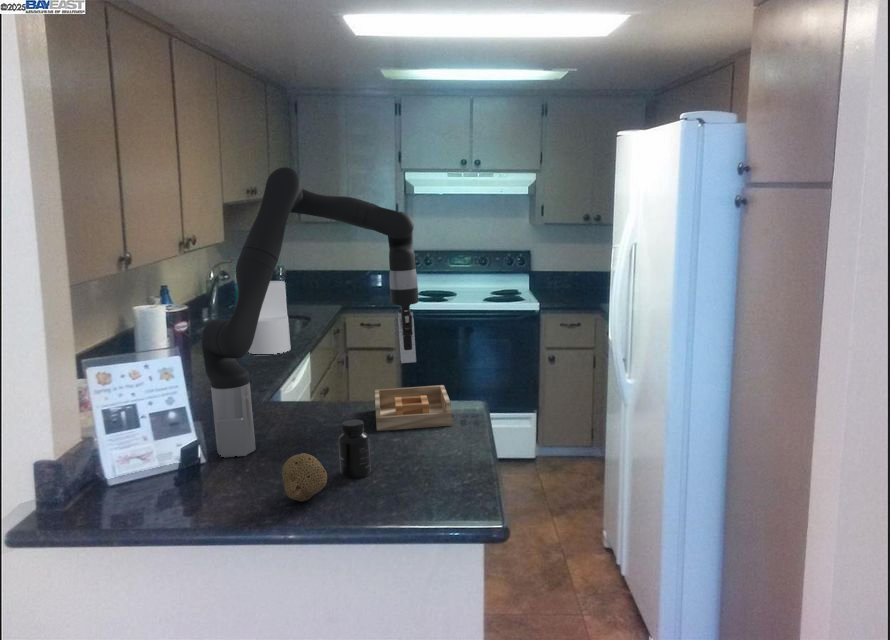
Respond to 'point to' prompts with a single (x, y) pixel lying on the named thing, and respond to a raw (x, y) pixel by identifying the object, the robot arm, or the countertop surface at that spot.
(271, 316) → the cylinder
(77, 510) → the countertop surface
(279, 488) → the countertop surface
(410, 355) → the connector peg
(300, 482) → the natural sponge
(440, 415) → the walled box
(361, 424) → the supplement bottle
